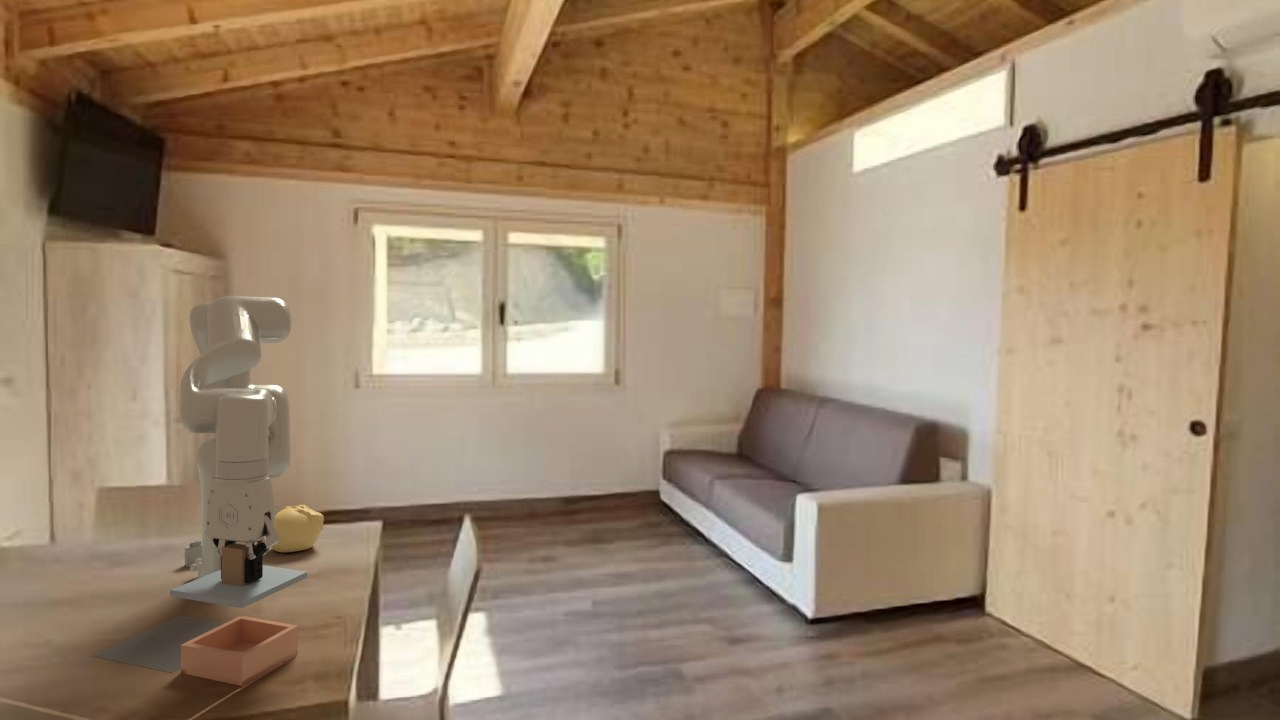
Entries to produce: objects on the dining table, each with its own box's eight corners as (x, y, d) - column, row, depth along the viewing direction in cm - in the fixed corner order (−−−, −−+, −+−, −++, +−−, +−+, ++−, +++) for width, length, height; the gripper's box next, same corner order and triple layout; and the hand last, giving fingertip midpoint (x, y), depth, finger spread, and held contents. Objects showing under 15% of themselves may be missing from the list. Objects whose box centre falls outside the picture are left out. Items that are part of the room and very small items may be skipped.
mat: (90, 657, 119) (90, 655, 119) (180, 617, 136) (180, 615, 136) (170, 675, 115) (170, 672, 115) (253, 631, 131) (253, 629, 131)
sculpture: (330, 546, 179) (331, 503, 178) (289, 560, 168) (290, 515, 167) (298, 538, 184) (298, 497, 183) (256, 551, 173) (256, 508, 172)
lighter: (187, 566, 161) (187, 532, 161) (184, 565, 162) (184, 530, 162) (221, 559, 167) (221, 525, 166) (218, 557, 168) (218, 524, 167)
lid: (170, 596, 113) (169, 552, 113) (240, 567, 127) (241, 528, 126) (242, 608, 109) (242, 563, 109) (307, 577, 123) (307, 537, 123)
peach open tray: (181, 675, 115) (181, 644, 115) (240, 642, 126) (240, 615, 126) (242, 688, 112) (242, 657, 111) (297, 653, 123) (297, 625, 123)
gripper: (181, 469, 116) (181, 579, 117) (267, 478, 111) (266, 593, 112) (220, 460, 123) (219, 565, 124) (301, 469, 118) (300, 577, 119)
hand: (241, 577), depth 118 cm, fingers closed on lid, 4 cm apart
